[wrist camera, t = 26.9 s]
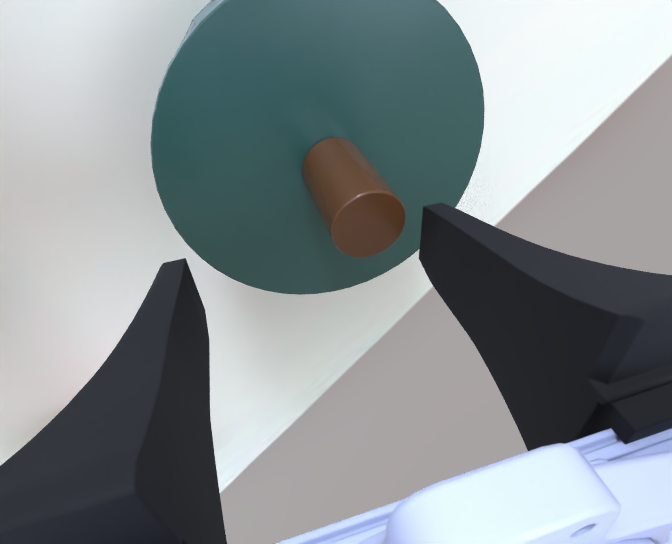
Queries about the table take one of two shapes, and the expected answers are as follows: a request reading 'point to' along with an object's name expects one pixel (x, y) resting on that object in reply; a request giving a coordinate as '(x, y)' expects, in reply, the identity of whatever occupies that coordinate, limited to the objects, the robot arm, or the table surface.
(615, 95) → the table surface
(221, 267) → the lid
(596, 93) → the table surface
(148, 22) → the table surface
